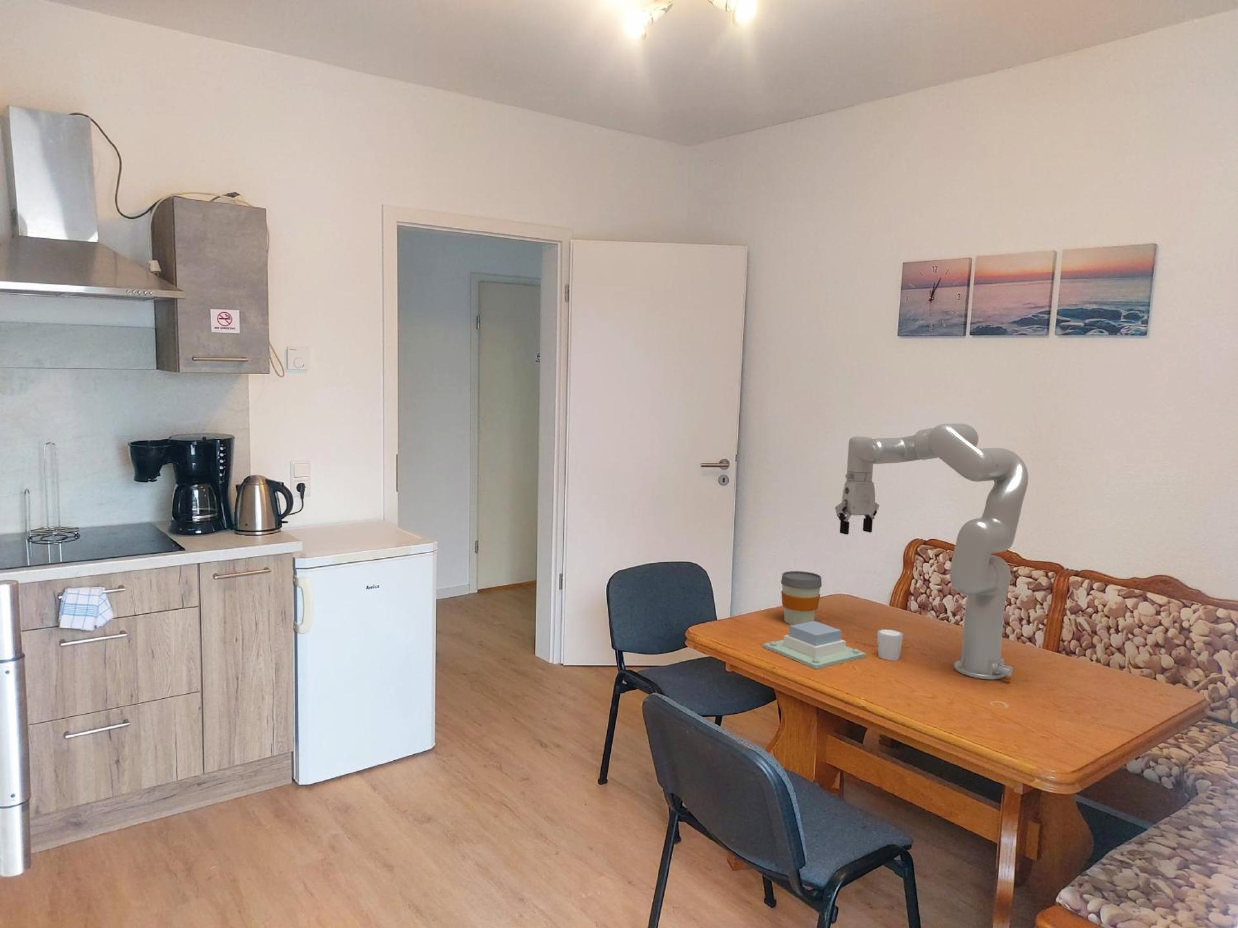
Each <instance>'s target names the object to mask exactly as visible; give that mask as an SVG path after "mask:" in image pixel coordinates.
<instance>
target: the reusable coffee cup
mask: <svg viewBox="0 0 1238 928" xmlns="http://www.w3.org/2000/svg"><path fill="white" fill-rule="evenodd" d="M780 583H781V588H782V590H781V605H782V607H783V615H784V622H785V624H787V625H788V624H789V625H790V626H791V625H796V624H801V623H806V622H811V621H815V617H816V616H815V615H816V612H817V610H818V609H819V605H820V604H819V602H820V597H821V594H820V591H821V588H822V587H823V586H822V585H823V584H822V583H823V582H822V576H821V575H820V574H817V573H813V572H809V571H799V570H791V571H785V572H783V573H782V574H781V580H780Z"/></svg>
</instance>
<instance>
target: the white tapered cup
mask: <svg viewBox="0 0 1238 928" xmlns="http://www.w3.org/2000/svg"><path fill="white" fill-rule="evenodd" d="M903 638H904V633H903V632H902V631H898V630H895V629H888V628H885V629H879V630H877V651H878V652H877V656H878V657H879V658H880V659H883V660H886V659H887V660H886V661H898V660H900V656H901V650H902V645H903V640H904V639H903Z"/></svg>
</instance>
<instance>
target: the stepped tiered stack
mask: <svg viewBox="0 0 1238 928" xmlns="http://www.w3.org/2000/svg"><path fill="white" fill-rule="evenodd" d="M841 638H842V630H841V629H839V628H835V627H834V626H830V625H827V624H824V623H822V622H820V621H819V622H818V621H816V620H814V621H811V622H806V623H801V624H796V625H791V624H790V625H789V633H788V634H784V635H783V639H780V640H776V641H774V640H771V641H770V642H766V643H763V645H762V648H763V647H764V648H763V649H766V650H768V649H769V650H768V651H771V650H772V651H771V652H773V651H774V652H773V653H775V652H777V653H776V654H777V655H780V654H781V656H783V657H785V656H786V657H785V658H788V659H790V660H792V659H794V660H793V661H795V660H796V661H795V662H797V661H798V662H797V663H801V664H802V665H805V666H807V667H809V668H812V669H814V670H819V669H822V668H826V667H830V666H834V665H839V664H842V663H846V662H851V661H855V659H856V660H859V659H864V658H866V657H867V652H863V651H860V649H859V648H852V647H849V646H847V645H846V643H847V641H846V640H844V639H841Z"/></svg>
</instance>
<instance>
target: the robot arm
mask: <svg viewBox="0 0 1238 928" xmlns="http://www.w3.org/2000/svg"><path fill="white" fill-rule="evenodd" d="M978 444H979V435H978V432H977V430H976V429H975V428H974V427H973V426H971V425H969V424H967V423H941V424H938V425H936V426H935V427H931V428H925V429H920V430H918V431H917V432H915V434H913V435H908V436H902V437H901V436H900V437H885V438H883V437H881V438H871V437H868V436H853V437H850V438H849V440H848V446H847V447H848V449H847V451H848V452H847V467H846V474H845V479H846V481H845V483H844V486H843V489H842V490H843V491H842V497H841V502H840V503H839V504H837V505H836V506H835V507H834V510H835V513H836V516H837V518H838V521H840V523H839V534H843V535H845V536H847V535H849V533H850V521H849V519H851V517H852V516H857V517H858V516H864V518H863V524H862V531H863V532H866V533H870V534H871V533H873V523H874V522H873V520H875V516H876V515H877V514H878V510H879V507H880V504H879V503H878V502H876V488H875V483H874V481H873V471H874V470H873V469H874V465H879V464H880V465H883V464H897V463H907V462H915V461H920V460H922V461H926V460H933V459H940V460H941V461H942V462H944V463H945V464H946V465H947V466H948V467H950V468H951V469H953V470H954V471H955V472H956V473H957V474H958V475H960V477H963V478H964V479H965V480H968V481H971V482H977V483H978V482H989V481H990V482H991V481H993V482H994V483H993V486H992V488H991V489H990V491H989V492H988V495H987V496H986V497H987V498H986V500H985V505H984V506H985V507H984V510H983V512H982V515H981V517H978V518H973V519H970V520H968V521H966V522H965V523H964V524H963V525H962V527H961V528H960V530H959V531H958V533H957V536H956V540H955V545H954V551H953V555H952V559H951V562H950V567H949V568H950V569H949V579H950V582H951V586H952V587H953V589H954V590H955V591H956V592H957V593H959V594H961V595H964V596H966V601H965V607H964V617H963V629H962V630H963V631H962V643H961V644H962V645H961V654H960V655H961V656H960V657H961V659H959V660H956V661H955V662H954V665H953V667H954V669H955V671H956V672H958V673H960V674H961V675H965V676H968V677H971V678H975V679H983V680H999V679H1003V678H1005V676H1007V677H1011V676H1012V674H1013V670H1014V669H1013V668H1014V667H1012V666H1009V665H1006V664H1005V658H1003V657H1001V654H1002V643H1003V641H1002V640H1003V628H1004V618H1005V610H1006V609H1005V607H1006V600H1007V594H1008V591H1009V590H1010V589H1009V587H1010V585H1011V577H1012V573H1011V568H1010V566H1009V565H1008V563H1007V561H1006V560H1004V559H1003V558H1001V557H1000V556H997V555H996V554H999V553H1002V552H1003V553H1004V552H1005V551H1008V550H1010V549H1011V547H1012V546H1013V544H1014V542H1015V538H1016V534H1017V529H1018V526H1019V521H1020V516H1021V512H1022V506H1023V503H1024V500H1025V496H1026V493H1027V488H1028V484H1029V472H1028V468H1027V467H1026V464H1025V462H1024V460H1023V459H1022V458H1021V457H1020V456H1019V455H1018V454H1017V453H1015V452H1014V451H1012V450H1010V449H1007V448H1003V447H987V448H979V447H977V446H978ZM993 554H995V555H993Z"/></svg>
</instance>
